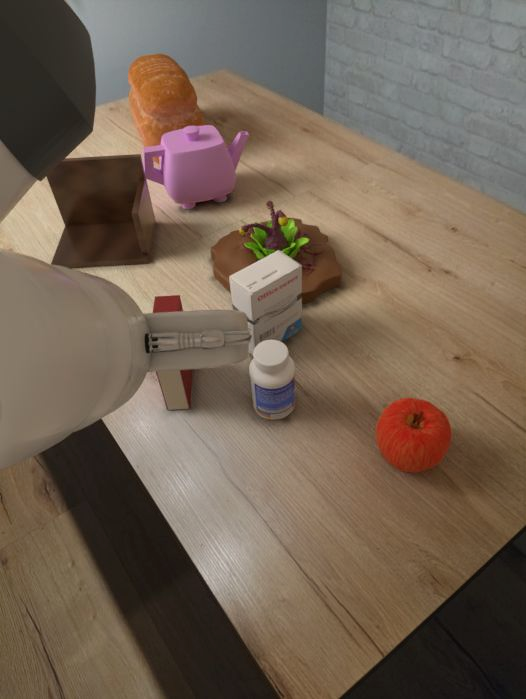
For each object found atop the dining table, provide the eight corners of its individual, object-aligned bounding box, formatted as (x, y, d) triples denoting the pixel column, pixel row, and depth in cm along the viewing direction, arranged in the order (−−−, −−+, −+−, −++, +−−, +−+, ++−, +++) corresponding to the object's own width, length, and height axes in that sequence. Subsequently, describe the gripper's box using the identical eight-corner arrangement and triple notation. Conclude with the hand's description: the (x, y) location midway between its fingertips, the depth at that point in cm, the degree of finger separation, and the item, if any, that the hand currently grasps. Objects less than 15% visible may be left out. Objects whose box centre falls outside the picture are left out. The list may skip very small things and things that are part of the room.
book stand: (52, 269, 85) (22, 199, 76) (67, 227, 93) (42, 159, 84) (148, 263, 85) (131, 193, 76) (156, 222, 93) (140, 153, 84)
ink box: (280, 312, 76) (278, 246, 68) (302, 330, 74) (304, 264, 65) (234, 340, 73) (226, 275, 64) (256, 360, 70) (251, 294, 61)
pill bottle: (303, 409, 64) (305, 357, 57) (265, 428, 63) (262, 377, 55) (280, 380, 68) (279, 328, 60) (244, 397, 66) (239, 346, 59)
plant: (239, 324, 75) (233, 263, 67) (199, 250, 87) (190, 190, 79) (361, 286, 79) (369, 224, 71) (306, 221, 92) (308, 162, 83)
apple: (411, 412, 63) (424, 371, 57) (457, 463, 58) (476, 423, 52) (358, 440, 61) (365, 399, 55) (401, 495, 56) (414, 457, 50)
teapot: (157, 221, 93) (142, 155, 84) (145, 188, 102) (130, 123, 92) (261, 198, 97) (258, 132, 88) (241, 167, 105) (236, 104, 96)
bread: (152, 171, 106) (135, 94, 95) (130, 120, 123) (114, 50, 111) (215, 158, 108) (206, 82, 97) (185, 110, 125) (175, 40, 114)
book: (166, 410, 65) (147, 346, 56) (171, 361, 70) (154, 296, 62) (190, 409, 65) (174, 345, 56) (193, 360, 70) (179, 294, 62)
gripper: (247, 281, 29) (252, 296, 43) (-113, 303, 29) (8, 310, 43) (253, 392, 30) (256, 371, 43) (-103, 413, 30) (14, 385, 43)
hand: (130, 341), depth 43 cm, fingers open, 8 cm apart
